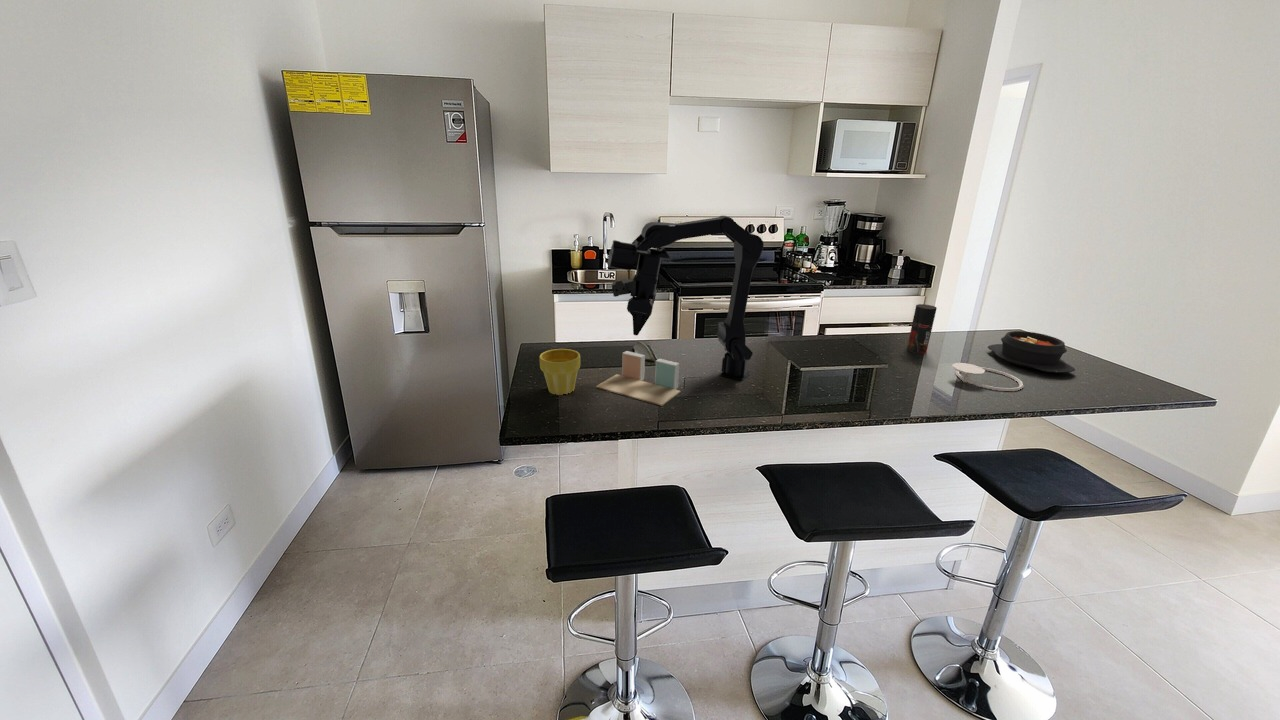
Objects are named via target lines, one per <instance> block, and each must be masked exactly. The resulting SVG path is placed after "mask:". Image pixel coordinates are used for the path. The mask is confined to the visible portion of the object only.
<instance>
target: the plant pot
mask: <svg viewBox="0 0 1280 720" xmlns="http://www.w3.org/2000/svg"><path fill="white" fill-rule="evenodd" d="M539 367H540V370H541V371H542V372H543V375H544V379H545V381H546V385H547V389H548V392H549V393H550V394H552V395H555V394H556V396H564V395H563V394H566V395H569V394H572V393H573V392H574V391H575V387H576V381H577V377H578V371H579V369H580V368H581V354H580V352H578V351H577V350H574V349H569V348H555V349H548V350H546V351H543V352H542V353H540V355H539ZM572 391H573V392H572ZM571 392H572V393H571ZM568 393H569V394H568Z"/></svg>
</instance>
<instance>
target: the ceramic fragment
mask: <svg viewBox="0 0 1280 720" xmlns="http://www.w3.org/2000/svg"><path fill="white" fill-rule="evenodd" d="M632 348H633V350H634V353H638V354H642V355H645V361H646V360H647V361H651V362H656V360H655V358H654V356H653V353H652V352H651V350H650V349H649V347H648V346H647V344H646V343H644V342H642V341H640V340H637V341H636V342H635V344H634V346H633V347H632Z"/></svg>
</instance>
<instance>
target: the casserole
mask: <svg viewBox="0 0 1280 720" xmlns="http://www.w3.org/2000/svg"><path fill="white" fill-rule="evenodd" d="M1000 340H1001V343H997V344H995V343H994V344H990V345H988V346H987V349H989V350H990V351H992V352H993V353H994V354H995V355H996V356H997V357H999V358H1000V359H1003V360H1004V361H1007V362H1009V363H1010V364H1012V365H1016V366H1018V365H1019V367H1022V368H1026V367H1027V369H1031V368H1033V370H1034V369H1035V370H1039V371H1042V372H1046V373H1054V374H1055V373H1056V374H1057V373H1058V374H1061V373H1063V374H1065V373H1066V374H1067V373H1072V372H1074V371H1076V369H1075V367H1073V366H1072V365H1070V364H1069V363H1066V362H1065V361H1064V360H1063V359H1062V356H1063V354H1066V353H1067V351H1068V350H1067V348H1066V345H1065V343H1066V342H1064V340H1062V339H1059V338H1057V337H1054V336H1051V335H1048V334H1044V333H1039V332H1033V331H1023V330H1021V331H1020V330H1018V331H1017V330H1013V331H1011V330H1010V331H1008V332H1006V334H1005V335H1004V336H1003V337H1001V338H1000Z"/></svg>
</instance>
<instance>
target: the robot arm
mask: <svg viewBox="0 0 1280 720" xmlns="http://www.w3.org/2000/svg"><path fill="white" fill-rule="evenodd" d="M718 234H723V235H724V236H725V237H726V238H728V239H729V241H731V242H732V243H733V258H734V264H735V269H734V275H733V280H732V281H733V282H732V287H731V293H730V299H729V304H728V310H727V316H726V318H725V320H724V321H723V322H722V321H719V322H718V325H717V326H718V327H717V328H718V330H717V332H716V334H715V335H716V336H717V340H718V342H719V343H720V345H721V346H722V347H723V350H725V351H726V352H725V353H724V357H723V358H722V359H721V360H722V361H721V362H722V363H721V373H720V376H721V377H724V378H729V379H733V380H738V381H743V380H744V379H746V377H748V376H749V375H750V371H749V361H750V360H751V358H752V356H753V354H754V353H753V351H752V350H751V349H750V348H749V347H748V346H747V345H746V343H747V342H746V332H747V331H746V327H745V321H744V320H745V316H746V310H747V305H748V298H749V292H750V288H751V283H752V282H751V281H752V276H753V271H754V268H755V267H756V265H757V264H758V262H759V261H760V259H761V256H762V253H763V250H764V240H763V239H762V238H761V237H760V236H759V235H757V234H754V233H752V232H750V231H747V230H746V229H745V228H743V227H742V226H741V225H739V224H738V223H737V222H736V221H734V219H733V218H732V217H730V216H727V215H720V216H718V217H712V218H711V217H710V218H703V219H699V220H692V221H684V222H678V223H675V222H674V223H673V222H664V221H663V222H661V221H655V222H654V221H650V222H647V223H645V224H644V226H643V227H642V229H641V233H640V234H639V235H638V236H637V237H636V238H635V239H634V240H633V241H632V242H631V243H630V242H629V243H628V242H623V241H620V240H616V239H613V240H612V244H611V247H610V251H609V252H608V257H607V258H608V260H607V264H608V265H607V266H608V268H611V269H618V270H619V269H620V270H624V271H631V270H632V269H635V268H636V272H635V274H634V276H633V278H629V279H623V280H622V279H621V280H615V281H613V282H612V283H611V292H612V294H613V297H616V298H617V297H619V296H623V295H629V294H630V295H629V296H630V298H629V299H628V301H627V305H626V306H627V307H626V310H627V312H628V313H629V314H630V315H631V316H632V331H633V332H632V333H633V335H634V336H638V335H639V334H640V332H641V331H642V329H643V327H644V326H645V325H646V323H647V321H648V320H649V318H650V317H651V315H652V312H653V308H654V304H655V300H656V297H657V291H656V289H657V285H658V284H657V283H658V279H659V273H660V267H661V262H662V258H663V259H671V258H670V257H671V256H670V255H669V254H668V252H667V250H666V248H665V247H666V246H669V245H671V244H673V243H675V242H677V241H680V240H685V239H686V240H687V239H693V238H698V237H705V236H712V235H718Z"/></svg>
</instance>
